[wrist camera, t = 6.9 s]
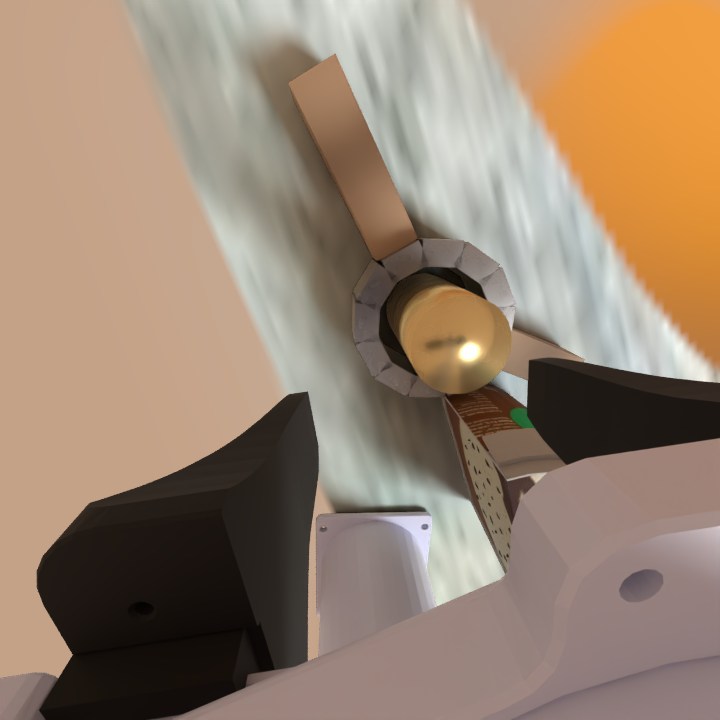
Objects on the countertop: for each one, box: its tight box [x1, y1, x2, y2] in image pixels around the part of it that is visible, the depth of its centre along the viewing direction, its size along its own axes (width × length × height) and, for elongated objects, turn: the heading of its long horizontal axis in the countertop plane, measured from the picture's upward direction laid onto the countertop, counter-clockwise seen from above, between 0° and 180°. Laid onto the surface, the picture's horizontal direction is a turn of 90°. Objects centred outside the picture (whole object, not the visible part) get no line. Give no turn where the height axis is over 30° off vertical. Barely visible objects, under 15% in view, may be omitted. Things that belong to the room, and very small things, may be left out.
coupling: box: [288, 54, 584, 397], centre depth 18 cm, size 15×16×3 cm
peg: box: [386, 274, 512, 394], centre depth 18 cm, size 4×4×7 cm
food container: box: [441, 384, 566, 575], centre depth 19 cm, size 12×6×10 cm, turn 18°
